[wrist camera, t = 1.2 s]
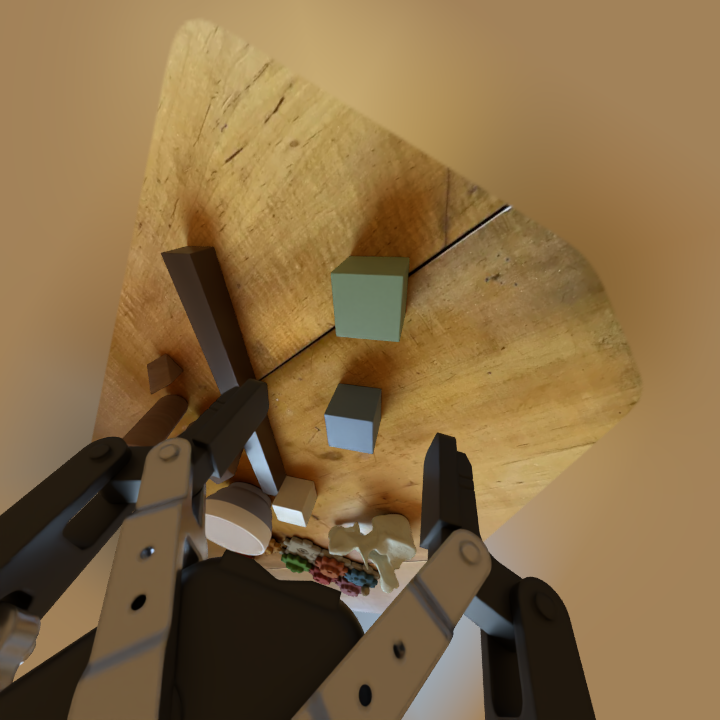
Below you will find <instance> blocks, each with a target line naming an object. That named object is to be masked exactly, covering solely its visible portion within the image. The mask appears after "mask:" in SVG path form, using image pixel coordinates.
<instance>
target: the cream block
mask: <svg viewBox="0 0 720 720" xmlns="http://www.w3.org/2000/svg"><path fill="white" fill-rule="evenodd" d="M316 499H317V494H316V490H315V485H314V482H313V481H309V480H304V479H299V478H295V477H290V476H286V478H285V480H284V482H283V484H282V486H281V488H280V490H279V492H278V494H277V496H276V498H275V500H274V502H273V504H272V506H273V508H274V511H275V513H276V516H277V518H278V520H280V521H284V522H288V523H292V524H295V525H299V526H303V527H306V526H307V524H308V521H309V518H310V516H311V513H312V510H313V508H314V505H315V502H316Z"/></svg>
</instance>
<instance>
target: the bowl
mask: <svg viewBox="0 0 720 720" xmlns="http://www.w3.org/2000/svg"><path fill="white" fill-rule="evenodd" d="M270 508H271V500H270V498H269V497H268V496H267V494H264V493H263V491H262V490H261V489H259V488H257V487H256V486H253V485H251V484H248V483H243V482H235V483H232V484H230V485H229V486H228V487H225V488H222V489H220V490H218V491H217V492H216V493H214V494H212V495H210V496H208V497H207V498H206V513H205V534H206V538H208V539H209V540H211V541H213V542H215V543H216V544H218V545H220V546H222V547H225V548H227V549H229V550H232V551H235V552H238V553H242V554H247V555H260V554H262V553H264V552H265V550H266V548H267V546H268V544H269V541H270V539H271V536H272V522H271V520H272V511H271V509H270Z"/></svg>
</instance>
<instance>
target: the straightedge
mask: <svg viewBox="0 0 720 720" xmlns="http://www.w3.org/2000/svg"><path fill="white" fill-rule="evenodd" d="M161 255H162V257H163V259H164V262H165V264H166V267H167V269H168V271H169V274H170V276H171V278H172V281H173V283H174V285H175V288H176V290H177V292H178V295H179V297H180V299H181V302H182V304H183V306H184V309H185V311H186V313H187V316H188V318H189V320H190V323H191V325H192V327H193V330H194V332H195V334H196V337H197V339H198V341H199V344H200V346H201V348H202V351H203V353H204V355H205V358H206V360H207V362H208V365H209V367H210V369H211V372H212V374H213V376H214V379H215V381H216V383H217V386H218V388H219V390H220V393H221V395H222V394H223V393H224V392H226V391H227V390H229V389H231V388H233V387H235V386H237V387H241V386H242V385H243V384H244V383H245V382H246V381H247V380H248V379H255V375H254V372H253V369H252V366H251V363H250V360H249V357H248V353H247V350H246V347H245V344H244V341H243V338H242V334H241V331H240V328H239V325H238V322H237V319H236V316H235V312H234V309H233V306H232V303H231V300H230V297H229V293H228V290H227V287H226V284H225V281H224V278H223V274H222V271H221V268H220V265H219V262H218V259H217V256H216V252H215V249H214V247H202V246H186V247H182V248H178V249H174V250H171V251H167V252H163V253H161ZM255 380H256V379H255ZM244 449H245V451H246V454H247V456H248V458H249V461H250V463H251V465H252V468H253V470H254V472H255V475H256V477H257V479H258V482H259V484H260V486H261V489H262V491H263V493H264V494H268V495H273V496H277V494H278V492H279V490H280V488H281V486H282V484H283V482H284V480H285V478H286V473H285V470H284V467H283V464H282V461H281V458H280V454H279V451H278V448H277V445H276V442H275V439H274V435H273V432H272V429H271V426H270V423H269V420H268V417H267V415H266V416H265V418H264V419H263V421H262V422H261V424H260V425H259V426H258V428H257V429H256V430H255V432H254V433H253V435H252V436H251V437H250V439H249V440H248V441H247V443H246V444H245V446H244Z"/></svg>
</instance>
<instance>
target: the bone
mask: <svg viewBox="0 0 720 720" xmlns="http://www.w3.org/2000/svg"><path fill="white" fill-rule="evenodd" d="M372 526H373V530H372V531H371V532H370V533H369V534H367V535H364V534H362V533H360V528H359V524H358V522H355V524H354V526H353V527H349V528H344V527H342V526H334V527H332V528H331V529H330V531H329V535H328V538H329V553H330V554H333V555H341V556H343V555H347V554H348V553H350V552H351V551H353V550H356V551H358V552H359V553H361V556H362V558H363V561H364V563H365V566H366V568H367V570H368V559H369V560H371V561H372V562H373V563H374V564H375V565H376V566H377V568H378V571H379V574H380V586H381V589H382V590H383V591H384V592H386V593H391V592H392V591H393V589H394V588H396V589H397V588H398V587H399V583H398V580H397V578H396V575H395V573H394V570H395V569H399V568H400V565H401V564H402V562H403V561H405V560H410V559H412V558H413V557H414V556H415V554H416V547H415V545H414V541H413V537H412V532H411V528H410V524H409V521H408V520H407V519H406V518H405V517H404V516H402V515H399V514H388V515H380V516H375V517H373V518H372Z"/></svg>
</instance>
